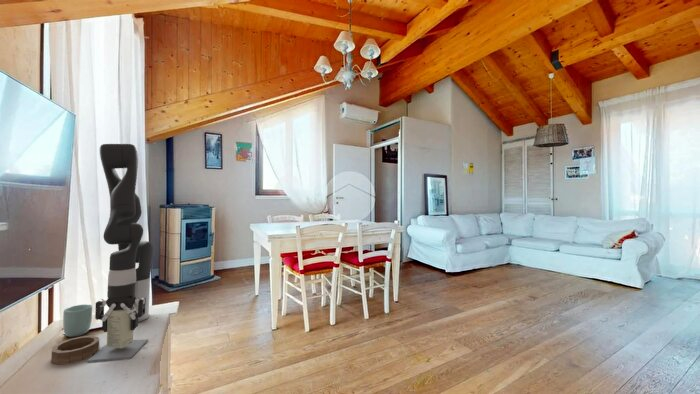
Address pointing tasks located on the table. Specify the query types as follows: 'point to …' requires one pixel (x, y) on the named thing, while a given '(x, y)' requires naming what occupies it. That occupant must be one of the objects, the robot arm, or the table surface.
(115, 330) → the skincare box
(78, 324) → the cup
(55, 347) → the holder ring
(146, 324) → the table surface
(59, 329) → the table surface
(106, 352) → the mat
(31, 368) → the table surface
